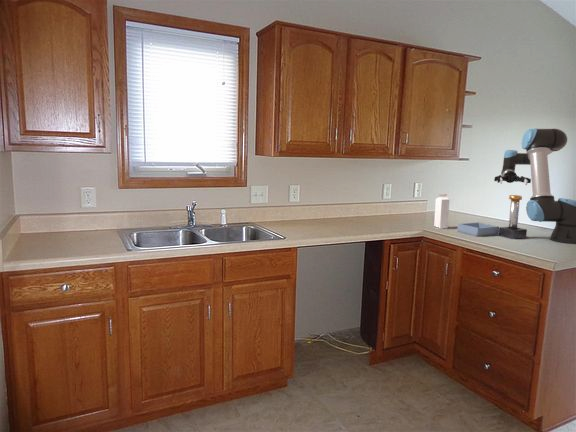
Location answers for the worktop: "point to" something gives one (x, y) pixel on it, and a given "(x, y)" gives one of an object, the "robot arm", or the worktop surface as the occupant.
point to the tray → (478, 229)
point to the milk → (441, 211)
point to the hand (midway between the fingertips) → (514, 182)
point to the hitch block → (512, 233)
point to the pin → (514, 211)
